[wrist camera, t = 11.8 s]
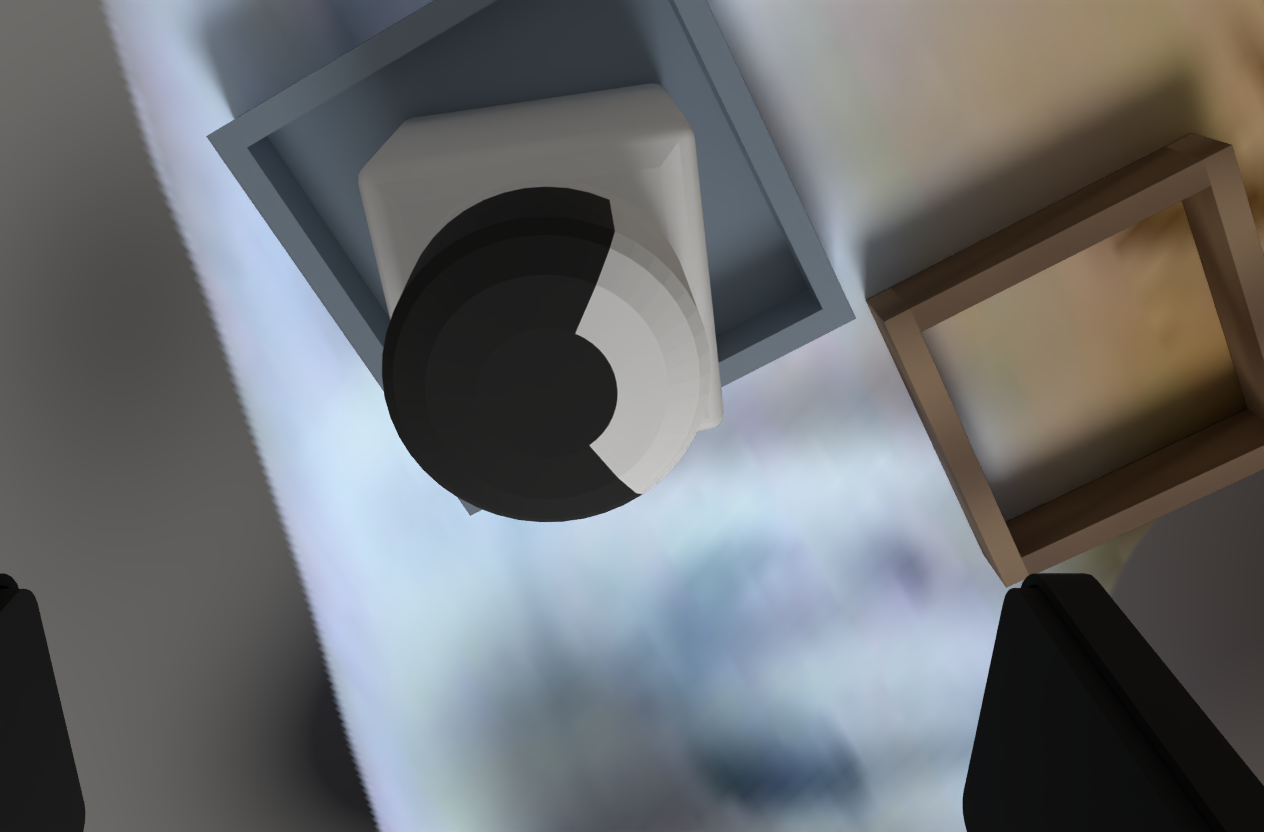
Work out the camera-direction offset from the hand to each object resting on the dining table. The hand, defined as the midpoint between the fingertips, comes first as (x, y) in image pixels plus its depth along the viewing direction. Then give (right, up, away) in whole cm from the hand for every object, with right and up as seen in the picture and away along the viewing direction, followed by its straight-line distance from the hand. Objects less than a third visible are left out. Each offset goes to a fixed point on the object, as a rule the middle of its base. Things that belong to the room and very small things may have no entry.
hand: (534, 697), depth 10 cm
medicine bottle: (-1, +8, +20) cm, 21 cm away
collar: (+15, +4, +23) cm, 27 cm away
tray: (-1, +9, +20) cm, 22 cm away
